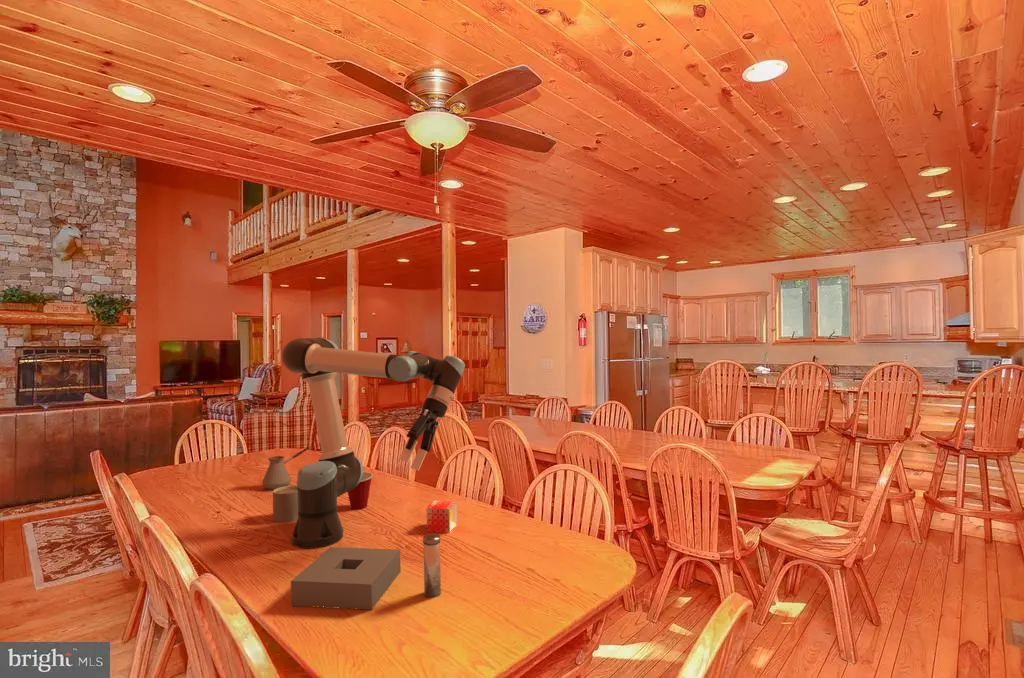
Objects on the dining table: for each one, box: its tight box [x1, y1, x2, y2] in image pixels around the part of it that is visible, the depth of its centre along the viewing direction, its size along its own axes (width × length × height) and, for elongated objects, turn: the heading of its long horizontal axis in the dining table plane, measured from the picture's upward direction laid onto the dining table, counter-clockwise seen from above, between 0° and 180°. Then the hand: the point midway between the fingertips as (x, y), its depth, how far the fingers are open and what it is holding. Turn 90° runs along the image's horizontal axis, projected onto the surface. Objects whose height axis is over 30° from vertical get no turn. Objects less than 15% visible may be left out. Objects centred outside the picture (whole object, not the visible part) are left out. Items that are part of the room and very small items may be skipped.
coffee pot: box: [261, 446, 312, 491], centre depth 228 cm, size 21×12×15 cm, turn 139°
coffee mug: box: [272, 485, 298, 523], centre depth 188 cm, size 13×10×10 cm
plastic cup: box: [347, 471, 374, 511], centre depth 196 cm, size 11×11×12 cm
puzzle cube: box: [426, 499, 458, 534], centre depth 174 cm, size 8×8×8 cm
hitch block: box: [290, 546, 402, 610], centre depth 133 cm, size 20×20×6 cm
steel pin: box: [422, 533, 442, 599], centre depth 129 cm, size 4×4×14 cm
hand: (409, 465), depth 159 cm, fingers open, 13 cm apart
